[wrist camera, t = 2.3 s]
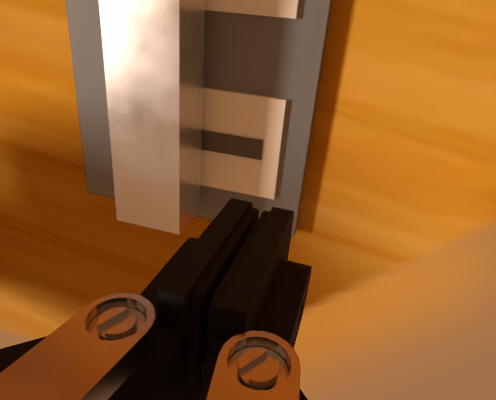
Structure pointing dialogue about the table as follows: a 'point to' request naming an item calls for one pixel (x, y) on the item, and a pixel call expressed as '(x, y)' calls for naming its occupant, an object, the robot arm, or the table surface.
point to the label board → (226, 99)
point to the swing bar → (155, 108)
